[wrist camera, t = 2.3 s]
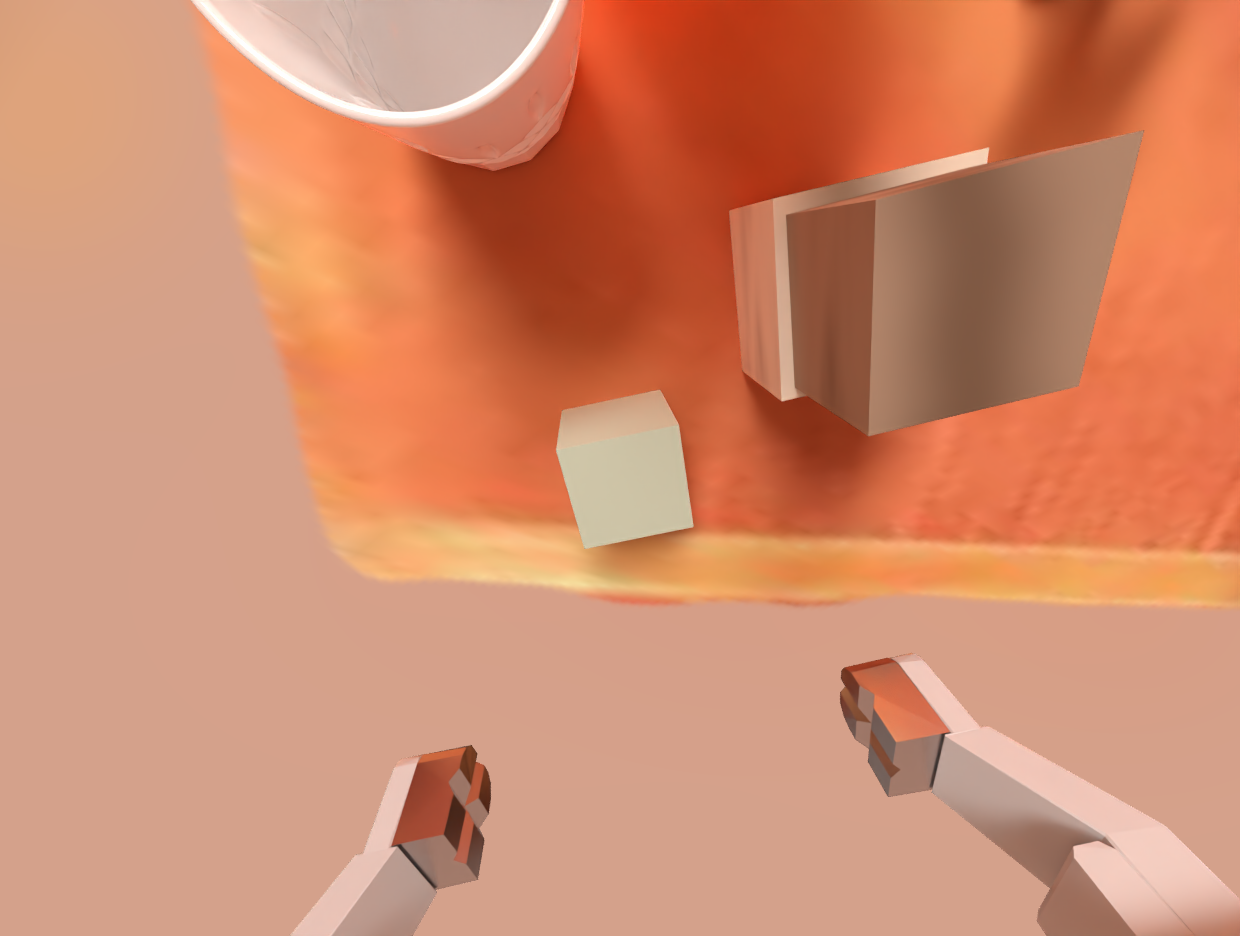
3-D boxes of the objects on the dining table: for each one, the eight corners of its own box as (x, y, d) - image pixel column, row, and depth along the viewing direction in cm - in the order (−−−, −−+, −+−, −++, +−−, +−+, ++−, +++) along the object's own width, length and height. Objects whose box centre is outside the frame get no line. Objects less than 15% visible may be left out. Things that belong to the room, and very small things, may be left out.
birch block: (891, 171, 18) (989, 147, 14) (881, 338, 22) (958, 361, 17) (727, 210, 19) (772, 198, 14) (741, 370, 22) (781, 401, 17)
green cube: (659, 388, 22) (678, 424, 17) (673, 475, 24) (693, 526, 20) (562, 409, 22) (556, 450, 18) (584, 494, 24) (584, 549, 20)
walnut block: (969, 167, 14) (1144, 130, 10) (948, 350, 17) (1078, 386, 12) (786, 214, 14) (876, 199, 10) (794, 387, 17) (868, 436, 13)
